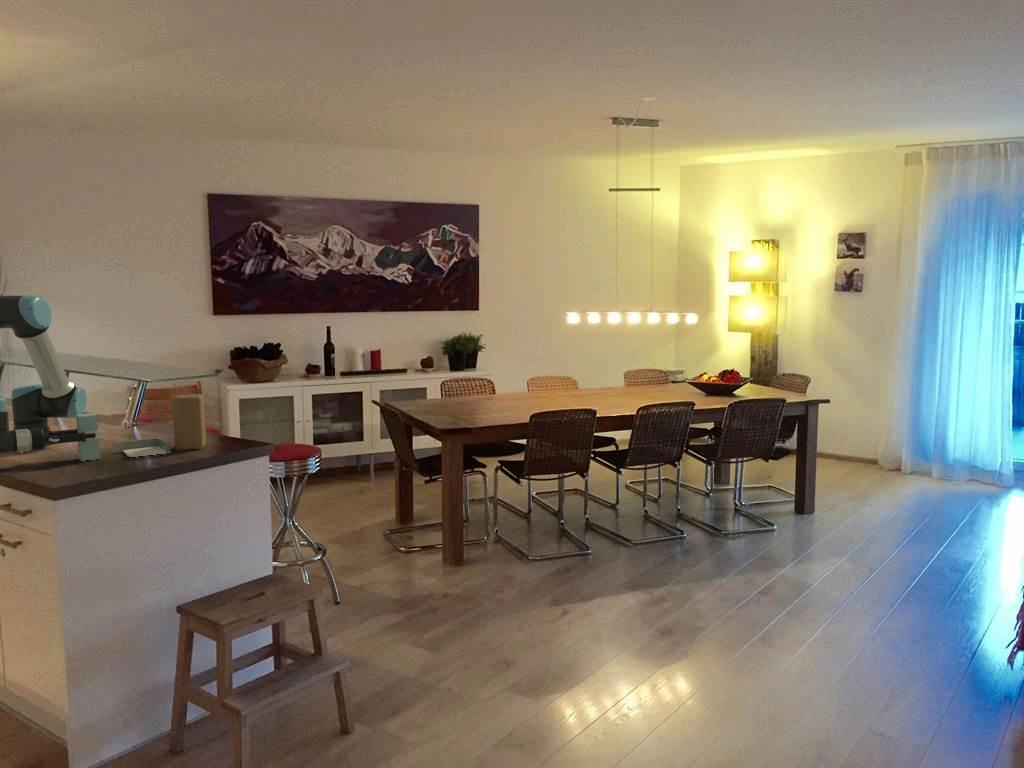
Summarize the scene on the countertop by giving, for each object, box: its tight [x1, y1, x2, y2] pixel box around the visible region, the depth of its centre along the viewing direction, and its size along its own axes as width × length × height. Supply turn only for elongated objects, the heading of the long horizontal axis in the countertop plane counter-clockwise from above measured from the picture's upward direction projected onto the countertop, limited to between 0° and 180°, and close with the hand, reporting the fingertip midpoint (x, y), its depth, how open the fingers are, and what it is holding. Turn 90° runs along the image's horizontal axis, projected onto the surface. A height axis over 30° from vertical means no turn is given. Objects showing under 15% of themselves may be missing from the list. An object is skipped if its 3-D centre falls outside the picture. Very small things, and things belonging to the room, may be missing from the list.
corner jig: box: [121, 436, 171, 458], centre depth 316 cm, size 14×14×4 cm
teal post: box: [75, 412, 101, 462], centre depth 304 cm, size 6×6×16 cm
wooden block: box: [171, 393, 207, 451], centre depth 324 cm, size 10×10×20 cm
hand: (103, 432), depth 307 cm, fingers closed on teal post, 6 cm apart
